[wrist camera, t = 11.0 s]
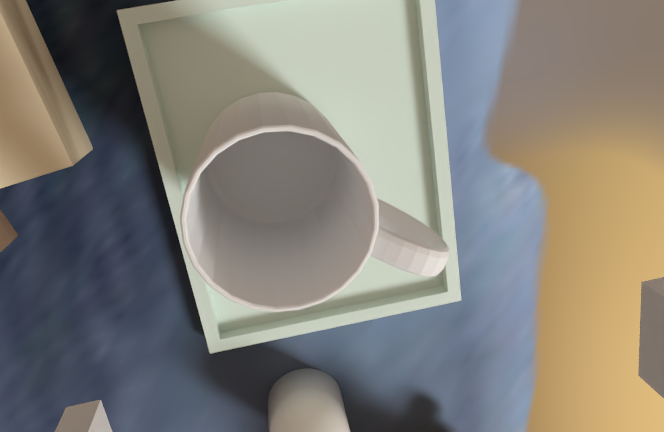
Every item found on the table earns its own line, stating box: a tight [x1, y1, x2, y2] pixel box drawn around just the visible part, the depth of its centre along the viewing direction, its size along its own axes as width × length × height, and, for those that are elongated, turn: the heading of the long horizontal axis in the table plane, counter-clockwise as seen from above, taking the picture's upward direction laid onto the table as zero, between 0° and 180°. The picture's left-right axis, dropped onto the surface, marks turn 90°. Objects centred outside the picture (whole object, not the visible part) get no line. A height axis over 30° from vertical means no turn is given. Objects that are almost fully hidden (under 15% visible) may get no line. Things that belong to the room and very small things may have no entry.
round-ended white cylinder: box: [268, 368, 350, 432], centre depth 36 cm, size 5×5×6 cm
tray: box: [117, 0, 461, 354], centre depth 33 cm, size 16×20×2 cm
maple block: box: [0, 0, 93, 188], centre depth 28 cm, size 4×8×4 cm, turn 16°
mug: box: [180, 92, 450, 312], centre depth 28 cm, size 12×8×10 cm, turn 69°
